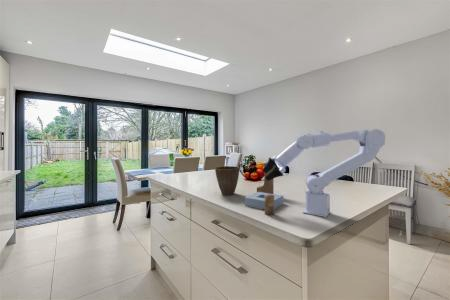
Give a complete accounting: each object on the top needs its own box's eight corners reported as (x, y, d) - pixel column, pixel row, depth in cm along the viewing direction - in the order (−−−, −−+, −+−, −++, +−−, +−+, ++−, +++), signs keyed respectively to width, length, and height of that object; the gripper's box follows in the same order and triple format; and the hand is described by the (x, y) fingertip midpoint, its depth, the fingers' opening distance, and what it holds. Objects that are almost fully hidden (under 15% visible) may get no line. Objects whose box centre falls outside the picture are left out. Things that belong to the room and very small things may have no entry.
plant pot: (214, 197, 117) (213, 169, 116) (216, 191, 132) (215, 166, 131) (240, 197, 116) (240, 169, 116) (239, 191, 131) (239, 166, 131)
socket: (283, 203, 103) (283, 195, 102) (271, 210, 91) (271, 202, 91) (258, 199, 111) (258, 191, 111) (244, 205, 100) (244, 197, 100)
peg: (275, 213, 88) (275, 195, 88) (271, 216, 85) (271, 197, 85) (267, 211, 90) (267, 193, 90) (263, 214, 87) (262, 195, 87)
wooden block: (256, 195, 119) (256, 164, 119) (258, 193, 124) (258, 163, 123) (272, 196, 116) (271, 165, 115) (273, 194, 120) (273, 164, 119)
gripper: (277, 144, 97) (256, 163, 101) (286, 156, 84) (261, 177, 87) (287, 154, 99) (266, 172, 102) (297, 167, 85) (272, 187, 89)
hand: (264, 175), depth 95 cm, fingers open, 7 cm apart
